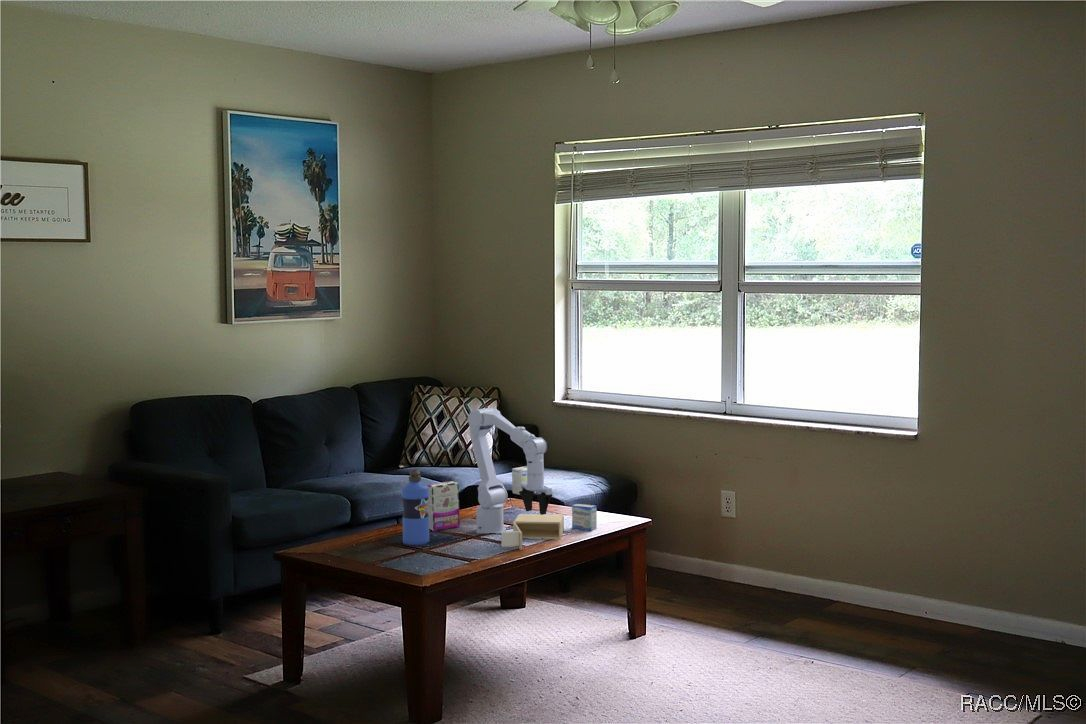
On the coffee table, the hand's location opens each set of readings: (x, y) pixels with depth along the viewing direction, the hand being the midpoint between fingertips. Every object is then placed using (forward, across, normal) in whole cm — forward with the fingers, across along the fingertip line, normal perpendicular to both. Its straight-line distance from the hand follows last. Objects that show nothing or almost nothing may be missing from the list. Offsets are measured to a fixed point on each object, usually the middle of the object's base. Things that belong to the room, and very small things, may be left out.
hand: (535, 512), depth 366 cm
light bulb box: (+10, -67, +51) cm, 85 cm away
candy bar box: (+10, -36, -13) cm, 40 cm away
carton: (+9, -4, +5) cm, 12 cm away
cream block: (+9, 0, -12) cm, 15 cm away
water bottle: (+10, -26, -32) cm, 42 cm away
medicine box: (+10, 0, +23) cm, 25 cm away
